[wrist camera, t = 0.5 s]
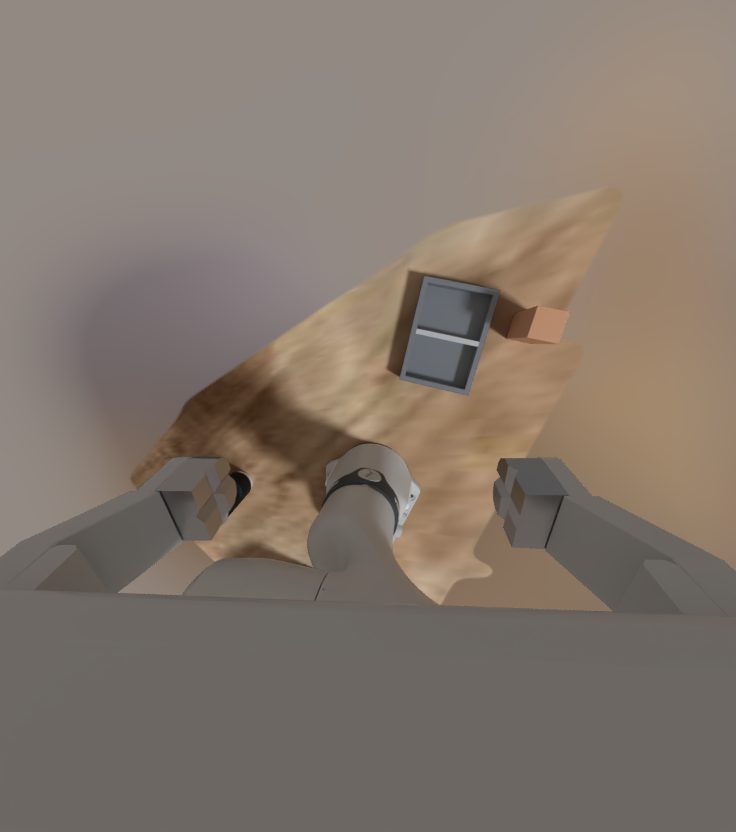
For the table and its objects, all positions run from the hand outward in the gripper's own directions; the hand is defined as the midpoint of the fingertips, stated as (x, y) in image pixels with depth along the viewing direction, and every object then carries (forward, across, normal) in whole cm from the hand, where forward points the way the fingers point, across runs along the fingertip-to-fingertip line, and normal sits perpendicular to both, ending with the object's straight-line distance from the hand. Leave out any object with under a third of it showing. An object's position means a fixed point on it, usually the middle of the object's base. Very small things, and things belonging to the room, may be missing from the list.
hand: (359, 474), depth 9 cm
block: (+44, +22, -5) cm, 49 cm away
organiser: (+44, +10, -7) cm, 46 cm away
